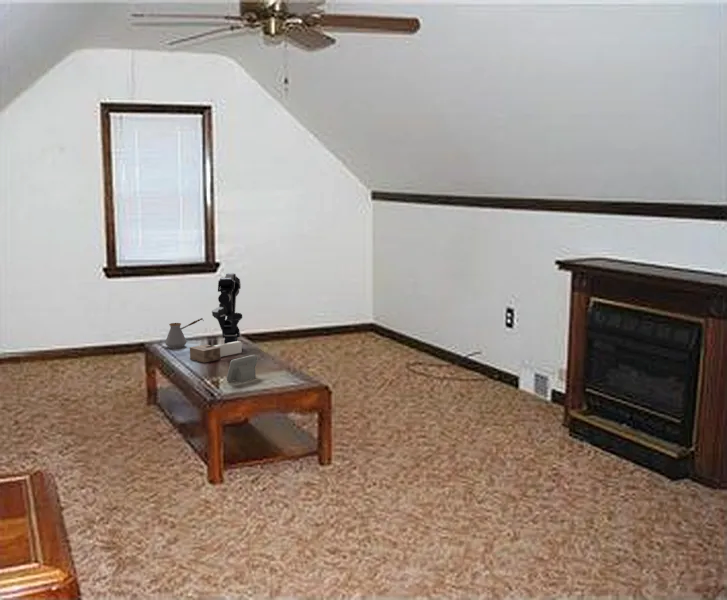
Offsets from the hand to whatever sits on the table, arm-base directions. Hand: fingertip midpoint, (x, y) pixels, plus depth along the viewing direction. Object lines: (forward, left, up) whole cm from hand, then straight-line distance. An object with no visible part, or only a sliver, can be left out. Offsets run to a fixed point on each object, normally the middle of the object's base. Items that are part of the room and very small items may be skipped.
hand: (227, 330), depth 417 cm
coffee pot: (+5, -32, -12) cm, 34 cm away
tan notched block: (+16, +2, -12) cm, 21 cm away
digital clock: (+29, +49, -12) cm, 58 cm away
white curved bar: (+4, +2, -12) cm, 13 cm away
